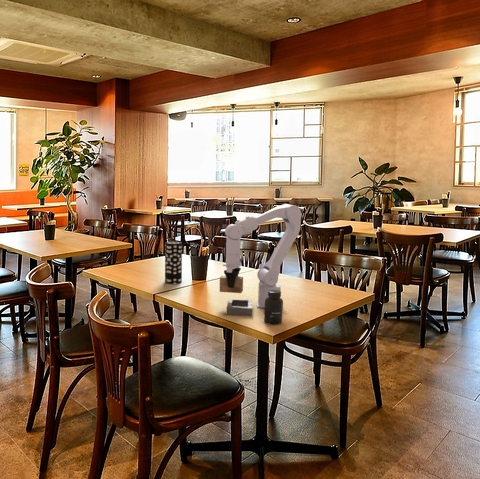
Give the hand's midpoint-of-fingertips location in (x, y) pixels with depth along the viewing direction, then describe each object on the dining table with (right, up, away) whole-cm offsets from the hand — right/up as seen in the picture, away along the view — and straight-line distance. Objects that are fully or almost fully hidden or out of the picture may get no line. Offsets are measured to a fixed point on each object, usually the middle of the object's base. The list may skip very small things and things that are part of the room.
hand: (232, 286), depth 191 cm
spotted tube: (-30, -2, +42) cm, 52 cm away
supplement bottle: (+16, -12, -17) cm, 26 cm away
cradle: (+3, -10, -3) cm, 11 cm away
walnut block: (0, -2, 0) cm, 2 cm away
